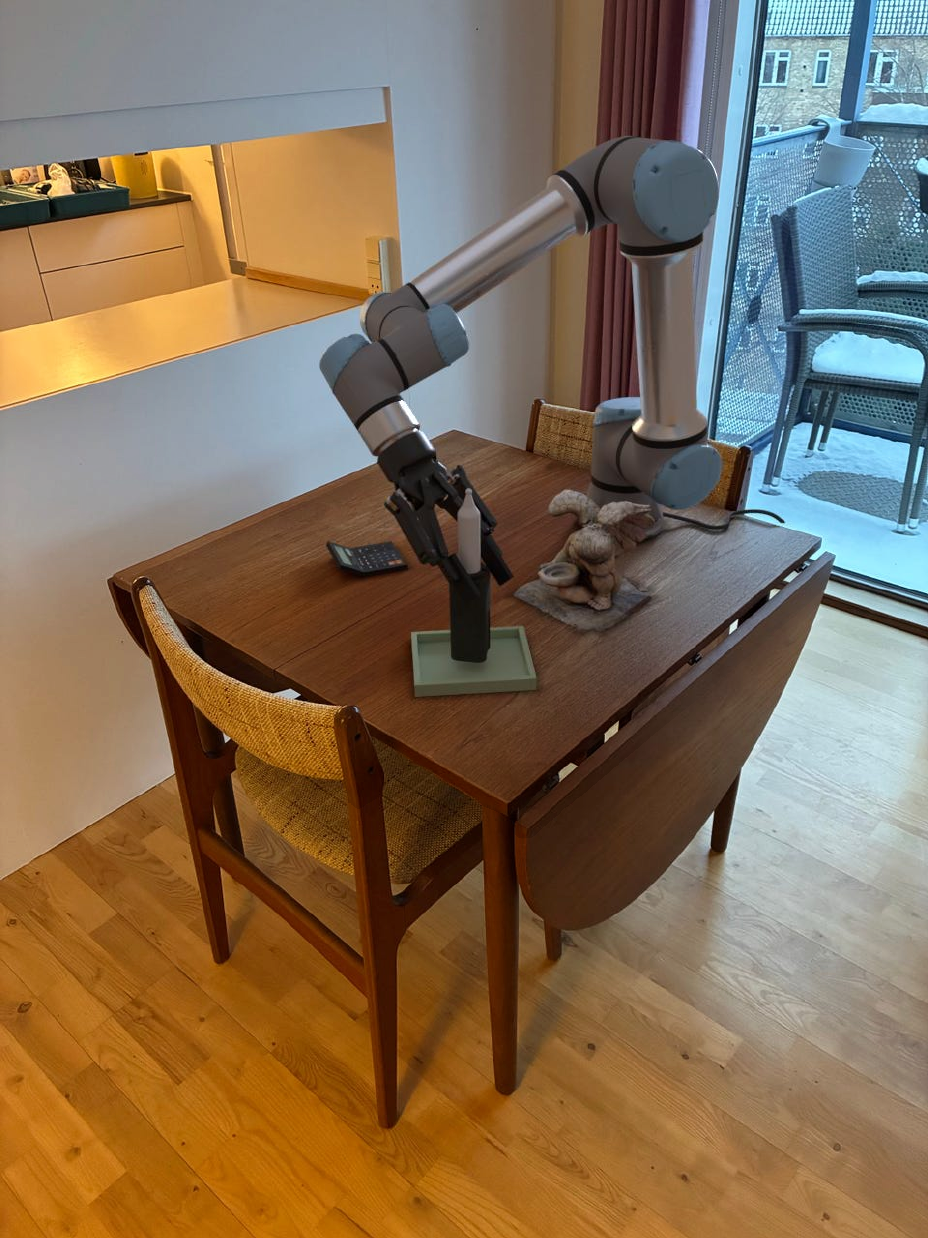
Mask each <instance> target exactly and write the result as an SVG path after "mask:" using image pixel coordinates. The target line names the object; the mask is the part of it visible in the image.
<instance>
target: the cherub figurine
mask: <svg viewBox="0 0 928 1238" xmlns="http://www.w3.org/2000/svg"><path fill="white" fill-rule="evenodd" d="M548 505H549V506H548V509H547V514H548V515H549V516H551V517H554V518H557V517H561V516H564V515H566V514H572V515H574V516H575V517H576V518H577V520H578V519H579V521H580V523H581V525H582V527H583V528H582V529H581V528H580V529H578V530H575V531H573V532H572V533H570V535H569V536H568V538H567V540H566V542H565V543H564V546H563V548H562V549H561V550H560V551H559V552H558V553H557V554H556V556H555V557H554V559H553V560H551V561H550V562H547V563H543V564H540V566H539V568H538V572H537V575H538V576H539V579H535V580H532V581H529V582H527V583H525V584H523V585H521V586H520V587H519V588H518V589H517V590H516V591H515V592H514V593H513V595H512V597H515V598H517V599H519V600H521V601H524V602H525V603H528V604H529V605H531V606H533V607H536V608H538V609H539V610H540V611H541V612H542V613H545V614H549V616H552V618H554V619H557V620H558V621H561V622H562V623H564V624H566V625H569V626H571V629H573V628H577V630H576V631H577V632H579V633H586V632H588V631H589V632H590V631H595V632H597V633H599V634H602V630H605V629H609V628H612V627H613V626H614V625H616V624H617V623H619V622H620V621H622V620H623V619H624V618H626V617H628V616H629V615H630V614H632V613H633V612H635V611H636V610H638V609H639V608H640V607H642V606H643V605H645V604H646V603H647V602H649V601H650V600H651V599H653V597H652V595H649V594H647V593H646V594H645V593H643V592H646V591H647V592H648V591H649V589H648V588H645V587H643V586H640V587H639V589H638V588H636V587H635V586H634V585H633V584H632V583H631V581H629V580H628V579H626V578H623V577H622V574H621V572H620V571H619V570H618V569H617V567H616V566H615V559H618V560H619V559H622V558H623V557H624V554H625V551H628V550H632V549H636V548H638V547H637V543H641V542H642V540H643V539H645V538H647V534H646V533H645V532H644V529H649V528H652V527H653V526H654V524H655V520H654V519H653V518H652V516H650V515H649V514H648V512H650V511H651V508H650V505H640V504H635V503H631V502H628V501H624V502H617V503H616V502H612V503H609V504H607V505H604V506H603V507H602V508H601V509H600V508H599V507H598V506H597V505H596V504H595V502H594V501H592V500H591V499H589V498H588V497H587V496H586V494H584V493H582V492H579V491H576V490H572V489H563V491H561V492H560V493H559V494H556V495H555V496H554V497H553V498H552V500H551V502H550V503H549V504H548ZM643 541H644V540H643Z"/></svg>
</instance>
